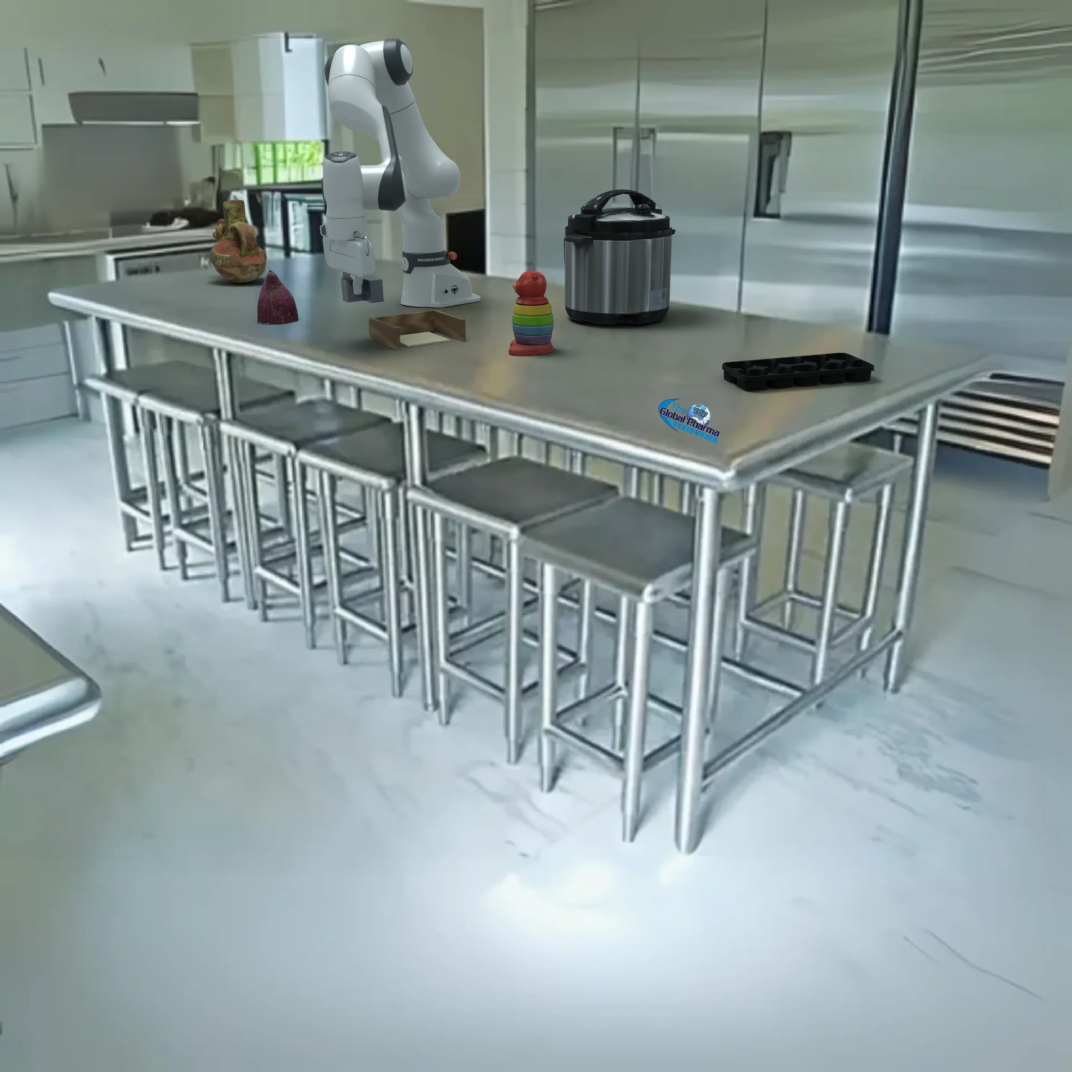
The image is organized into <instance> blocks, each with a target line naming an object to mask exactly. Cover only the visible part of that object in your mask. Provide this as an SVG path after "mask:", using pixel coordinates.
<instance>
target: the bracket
mask: <svg viewBox="0 0 1072 1072" xmlns="http://www.w3.org/2000/svg"><path fill="white" fill-rule="evenodd" d="M340 285H341V294H342V295H341V296H342V301H343V302H346V303H356V302H363V301H365V302H367V303H370V304H376V303H383V302H385V299H384V296H385V295H384V283H383V279H382V278H379V277H376V276H373V277H365V278H363V282H362V286H361V288H362V293H361V294H354V293H352V286H353V279H352V276H351V277H348V278H341V277H340Z"/></svg>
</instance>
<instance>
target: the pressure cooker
mask: <svg viewBox="0 0 1072 1072" xmlns="http://www.w3.org/2000/svg"><path fill="white" fill-rule="evenodd" d="M621 195H628V196H629V198H630V199H631V202H632V204H633V205H634V207H626V206H625V207H618V206H617V207H608V208H605V207H606V205H607V204H608V203H609V201H610V200H611V199H612V198H614V197H617V196H621ZM656 206H657V203H656V202H655V201H654V200H653V199H651V198H650V197H649V196H647V195H646V194H644V193H642V192H638V191H636V190H632V189H623V188H622V189H613V190H608V191H605V192H602V193H600V194H597V195H596V196H594V197H592V198H591V199H590V200H589V201H587V202H586V203H584V204H583V205H582V206H581V207H580V212H579V213H575V214H570V215H569V216H568V217H567V225H566V226H565V227H564V238H563V259H564V260H563V261H564V309H565V311H566V314H567V316H568V318H570V319H571V320H575V321H578V322H584V321H585V322H588V323H592V324H594V323H595V324H598V325H617V324H618V323H619V324H620V323H621V324H622V323H623V324H629V325H630V324H631V325H633V324H634V325H635V324H636V325H637V324H638V325H639V324H641V325H644V324H649V323H656V322H659V321H661V320H663V319H665V318H666V316H667V314H668V313H669V310H670V306H671V302H670V301H671V274H672V252H673V251H672V250H673V249H672V248H673V236H674V235H675V233H676V229H674V228H673V227H672V226H671V217H670V216H669V215H665V214H663V210H662V208H656Z"/></svg>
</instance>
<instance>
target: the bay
mask: <svg viewBox="0 0 1072 1072" xmlns="http://www.w3.org/2000/svg"><path fill="white" fill-rule="evenodd" d="M367 320H368V321H367V323H368V335H369V336H368V337H369V340H371V339H373V340H372V341H375V342H376V341H377V343H378V342H379V344H381V343H382V344H381V345H383V344H384V346H386V347H388V346H389V347H388V348H390V347H391V348H390V349H393V348H394V349H393V350H395V349H396V351H401V350H402V347H401V346H402V345H401V343H400V335H408V334H415V333H423V332H431V333H433V332H437V333H438V334H442V335H444V336H448V337H450V338H451V339H452V338H453V339H456V340H458V341H462V342H465V341H467V336H466V333H467V332H466V319H465V318H462V317H459V316H456V315H454V314H453V315H452V314H450V313H447V312H444V311H441V310H439V309H438V310H437V309H431V310H422V311H421V310H420V311H415V312H413V311H412V312H406V313H398V314H390V315H381V316H375V317H374V316H372V317H368V319H367Z"/></svg>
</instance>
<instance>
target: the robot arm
mask: <svg viewBox="0 0 1072 1072" xmlns="http://www.w3.org/2000/svg"><path fill="white" fill-rule="evenodd" d="M411 55H412V54H411V53H410V49H409V47H408V45H407V44H406V43H405V42H403V41H402V40H401V39H399V38H386V39H384V40H379V41H373V42H372V41H371V42H367V43H362V44H361V45H358V44H345V45H343V46H340V47H339V48H338V49H337V50H336V51H335V53H334V54H333V55H331V56H330V57H328V59H326V62H325V65H324V71H323V73H324V78H325V81H326V82H325V83H326V85H327V88H328V89H327V98H328V107H329V111H330V113H331V115H332V116H333V118H334V119H335V120H336V121H337V122H338V123H339V124H340V125H342V126H343V127H345V128H346V129H348V130H350V131H354V132H358V133H360V134H361V133H362V134H365V135H367V136H369V137H372V138H373V139H375V140H376V141H378V143H379V148H380V149H379V150H380V155H381V158H382V162H381V163H379V164H374V165H373V164H369V165H361V162H360V158H359V156H358V154H357V153H354V152H353V151H347V150H346V151H343V150H342V151H335V152H330V153H328V154H327V155H325V156H324V158H323V168H322V177H321V180H320V181H321V183H320V184H321V185H320V186H321V193H322V194H321V195H322V200H323V201H324V202H325V203H326V213H325V218H326V219H325V220H326V221H325V222H324V223H323V224H322V225H321V224H320V226H319V232H320V235H321V236H323V238H322V245H323V252H324V258H325V261H326V264H327V266H328V267H329V268H331V269H334V270H337V271H339V275H340V276H339V277H340V279H341V278H348V277H352V279H353V286H352V293H354V294H361V293H362V288H361V286H362V282H363V278H365V277H373V276H374V277H376V273H377V265H376V258H375V252H374V247H373V244H372V243H371V241H370V240H369V239H368V237H369V232H368V220H367V218H368V217H367V212H366V211H370V210H371V211H372V210H373V211H374V210H376V211H377V210H379V211H387V212H389V211H391V212H395V211H397V212H398V215H399V219H400V223H401V234H402V235H401V236H402V245H403V246H402V248H403V251H402V253H401V257H402V259H401V261H402V262H401V263H402V272H403V287H402V293H401V299H400V304H401V305H404V306H408V307H418V308H420V307H421V308H422V307H423V308H426V307H427V308H428V307H429V308H446V307H451V306H457V305H462V304H463V305H464V304H470V303H475V302H476V303H477V302H480V301H481V296H480V295H478V294H477V293H474V292H473V288H472V283H471V280H470V278H469V276H468V275H466V274H465V273H463V272H462V271H461V270H459V269H458V268H457V267H455V266H454V265H453V264H451V260H453V261H455V260H456V259H457V257H458V255H457V253H456V252H454V251H449V252H448V251H447V250H445V247H444V225H443V221H442V218H440V216H439V215H438V214H437V213H436V212H435V211H434V209H433V207H432V205H431V201H430V200H441V199H445V198H450V197H453V196H454V195H455V194H457V192H458V191H459V189H460V188H459V187H460V185H461V179H462V178H461V177H462V176H461V171H460V168H459V166H458V164H457V163H456V162H455V161H453V160H452V159H451V158H449V157H448V156H447V155H446V154H445V152H443V151H442V150H441V148H440V147H439V146H438V145H437V144H436V142H435V141H434V139H433V137H432V136H431V135H430V133H429V132H428V129H427V128H426V125H425V123H424V121H423V119H422V118H423V117H422V116H421V113H420V109H419V106H418V105H417V101H416V98H415V96H414V93H413V91H412V88H411V86H410V84H409V80H410V79H411V77H412V75H413V72H414V65H413V58H412V56H411Z"/></svg>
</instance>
